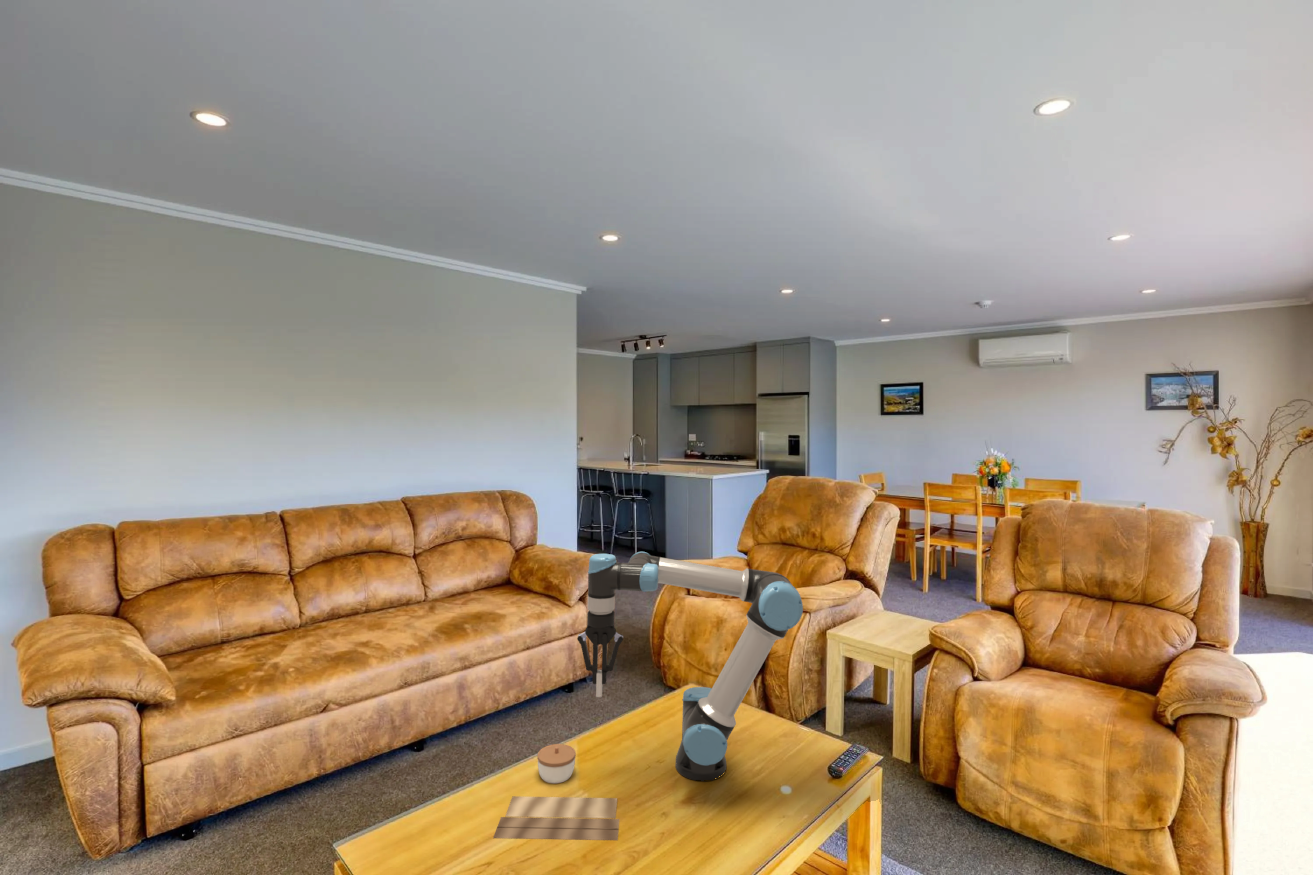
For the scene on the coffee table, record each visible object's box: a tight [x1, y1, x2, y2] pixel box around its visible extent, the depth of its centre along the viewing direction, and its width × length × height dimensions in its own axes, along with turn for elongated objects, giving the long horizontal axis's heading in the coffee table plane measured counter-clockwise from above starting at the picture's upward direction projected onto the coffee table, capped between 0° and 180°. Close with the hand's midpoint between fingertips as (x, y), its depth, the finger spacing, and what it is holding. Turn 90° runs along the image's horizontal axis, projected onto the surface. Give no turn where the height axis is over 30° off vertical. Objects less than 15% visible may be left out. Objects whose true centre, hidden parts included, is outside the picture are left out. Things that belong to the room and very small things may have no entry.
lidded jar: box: [537, 743, 577, 784], centre depth 174 cm, size 11×11×9 cm
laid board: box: [492, 816, 620, 841], centre depth 151 cm, size 30×8×2 cm, turn 91°
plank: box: [504, 795, 618, 819], centre depth 160 cm, size 28×8×2 cm, turn 91°
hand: (599, 694), depth 170 cm, fingers closed
